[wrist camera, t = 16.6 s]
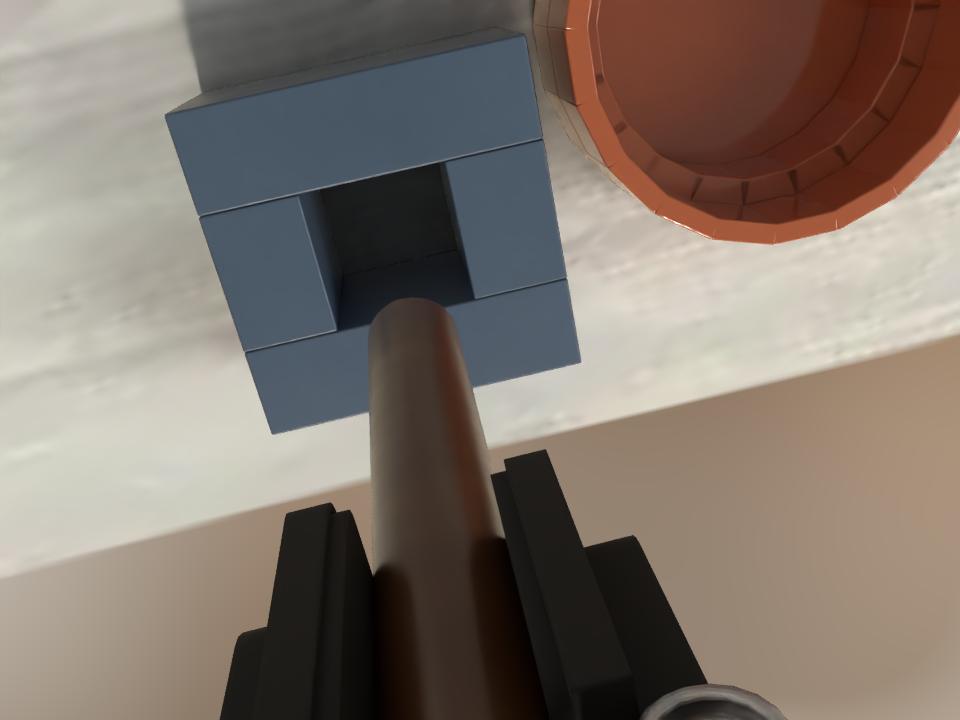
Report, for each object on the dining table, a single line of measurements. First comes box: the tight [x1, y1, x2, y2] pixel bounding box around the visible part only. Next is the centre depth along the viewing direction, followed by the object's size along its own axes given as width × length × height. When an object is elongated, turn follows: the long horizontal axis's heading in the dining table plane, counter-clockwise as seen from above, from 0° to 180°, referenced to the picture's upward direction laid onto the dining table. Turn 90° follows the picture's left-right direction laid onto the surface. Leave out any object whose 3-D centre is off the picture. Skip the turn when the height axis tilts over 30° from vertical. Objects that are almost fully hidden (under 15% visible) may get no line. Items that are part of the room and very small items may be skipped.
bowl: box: [533, 0, 960, 245], centre depth 28 cm, size 13×13×6 cm
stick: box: [368, 297, 550, 720], centre depth 12 cm, size 2×2×13 cm
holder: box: [165, 27, 581, 435], centre depth 30 cm, size 10×10×6 cm
